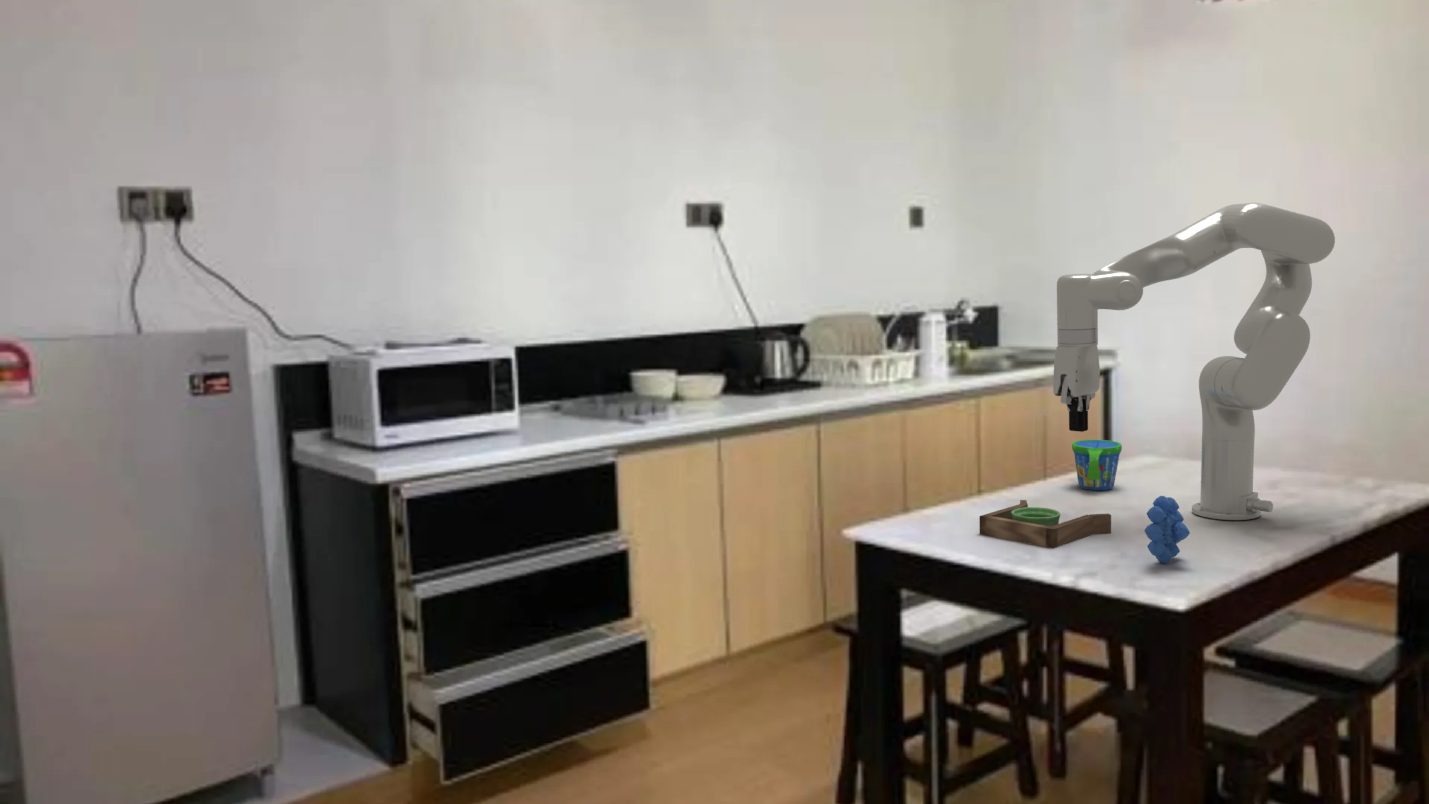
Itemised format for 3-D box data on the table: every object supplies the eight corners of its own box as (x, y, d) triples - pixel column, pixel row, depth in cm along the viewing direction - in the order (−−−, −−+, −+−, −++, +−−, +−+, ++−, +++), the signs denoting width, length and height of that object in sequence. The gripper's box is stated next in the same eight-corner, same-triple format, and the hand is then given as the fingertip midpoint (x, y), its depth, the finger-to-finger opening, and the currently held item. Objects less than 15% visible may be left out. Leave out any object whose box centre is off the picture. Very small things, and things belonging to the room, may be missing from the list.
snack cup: (1114, 496, 246) (1115, 450, 245) (1064, 493, 251) (1065, 447, 250) (1126, 482, 260) (1127, 438, 258) (1079, 479, 265) (1079, 436, 264)
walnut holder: (1112, 532, 216) (1113, 514, 216) (1062, 550, 205) (1063, 531, 205) (1022, 516, 231) (1022, 499, 231) (970, 532, 220) (970, 514, 220)
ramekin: (1056, 542, 211) (1056, 519, 211) (1007, 538, 215) (1007, 515, 214) (1063, 530, 219) (1063, 508, 219) (1015, 527, 223) (1015, 505, 222)
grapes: (1175, 575, 188) (1176, 503, 186) (1135, 568, 193) (1136, 498, 191) (1202, 559, 196) (1204, 491, 195) (1163, 553, 201) (1165, 486, 199)
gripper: (1080, 334, 229) (1081, 423, 232) (1039, 340, 219) (1040, 434, 222) (1115, 334, 224) (1115, 426, 226) (1074, 341, 214) (1075, 437, 216)
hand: (1078, 430), depth 224 cm, fingers closed
